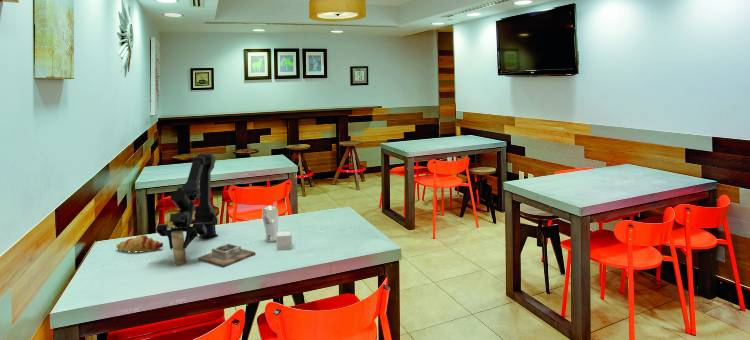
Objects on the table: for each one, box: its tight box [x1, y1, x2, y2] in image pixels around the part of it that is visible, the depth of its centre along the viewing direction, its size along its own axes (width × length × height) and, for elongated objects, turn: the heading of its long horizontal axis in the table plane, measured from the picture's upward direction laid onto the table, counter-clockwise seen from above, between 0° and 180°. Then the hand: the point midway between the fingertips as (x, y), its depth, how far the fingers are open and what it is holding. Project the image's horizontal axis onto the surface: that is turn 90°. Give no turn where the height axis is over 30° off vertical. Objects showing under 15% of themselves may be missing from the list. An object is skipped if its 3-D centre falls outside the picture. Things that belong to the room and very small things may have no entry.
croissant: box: [116, 234, 164, 252], centre depth 205 cm, size 21×10×8 cm
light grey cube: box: [276, 230, 293, 251], centre depth 202 cm, size 6×6×6 cm
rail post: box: [171, 230, 187, 266], centre depth 186 cm, size 4×4×13 cm
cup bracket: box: [197, 243, 256, 268], centre depth 192 cm, size 16×16×4 cm
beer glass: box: [261, 205, 279, 243], centre depth 211 cm, size 7×7×15 cm
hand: (177, 248), depth 185 cm, fingers open, 5 cm apart
